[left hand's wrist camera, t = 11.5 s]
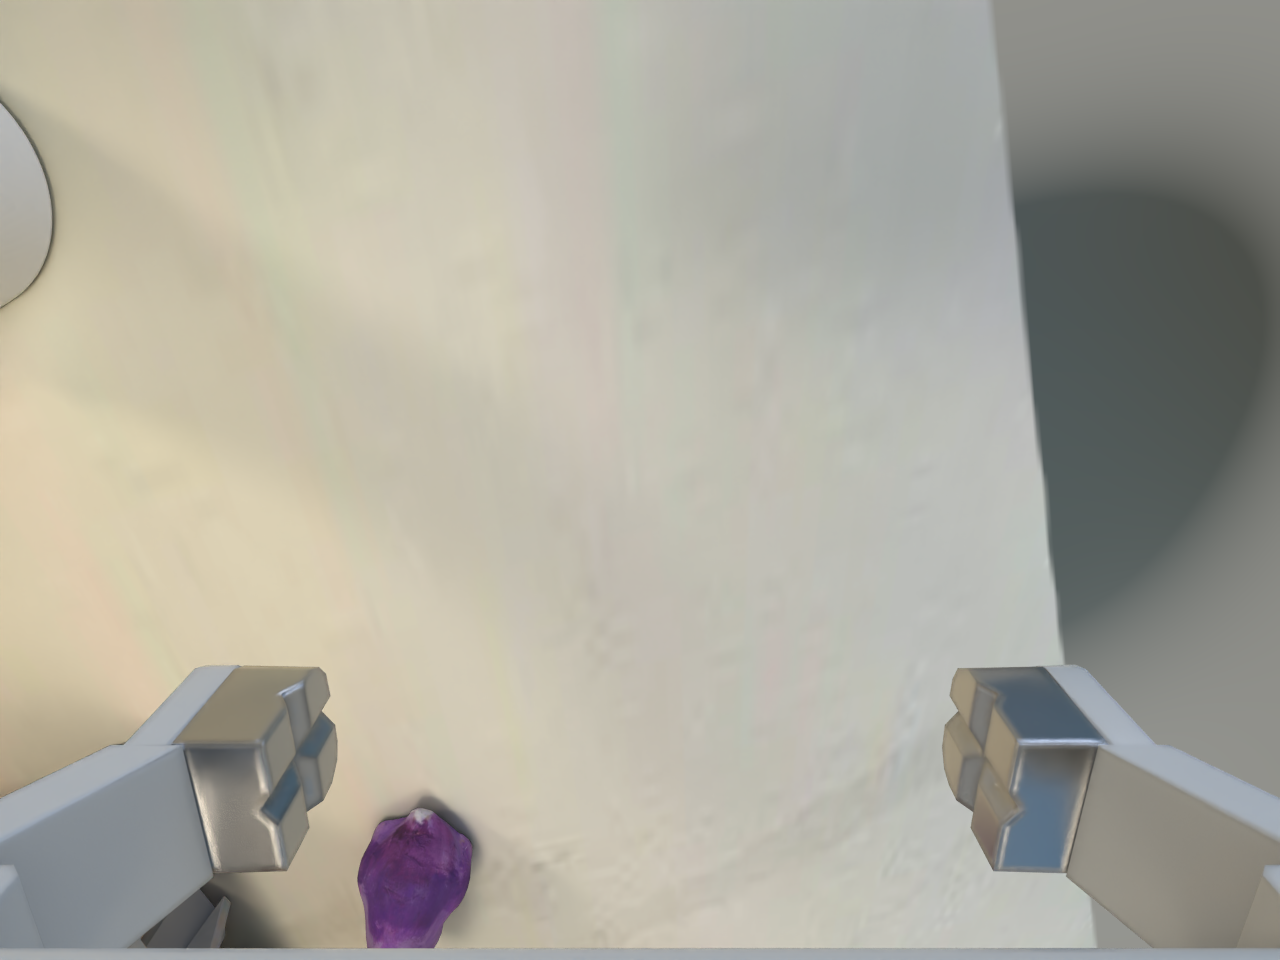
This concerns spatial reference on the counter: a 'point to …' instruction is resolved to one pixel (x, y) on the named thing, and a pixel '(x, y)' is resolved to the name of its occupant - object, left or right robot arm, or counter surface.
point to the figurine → (412, 880)
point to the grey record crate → (189, 925)
